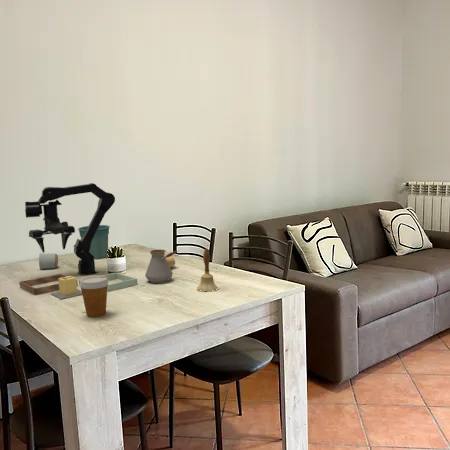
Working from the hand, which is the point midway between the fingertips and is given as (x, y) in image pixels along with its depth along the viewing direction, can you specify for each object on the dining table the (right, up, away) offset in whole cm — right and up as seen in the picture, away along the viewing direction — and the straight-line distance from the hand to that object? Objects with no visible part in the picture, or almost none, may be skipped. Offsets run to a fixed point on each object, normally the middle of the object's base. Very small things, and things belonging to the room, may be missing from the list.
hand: (53, 250), depth 217 cm
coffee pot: (+51, -13, -15) cm, 55 cm away
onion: (+49, -9, +12) cm, 51 cm away
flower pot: (+7, -6, +43) cm, 44 cm away
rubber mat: (+15, -15, -27) cm, 34 cm away
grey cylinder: (-10, -10, +22) cm, 26 cm away
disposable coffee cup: (+33, -19, -52) cm, 64 cm away
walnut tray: (+3, -14, -15) cm, 21 cm away
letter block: (+15, -15, -27) cm, 34 cm away
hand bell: (+69, -14, -26) cm, 75 cm away
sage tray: (+28, -13, -15) cm, 34 cm away
